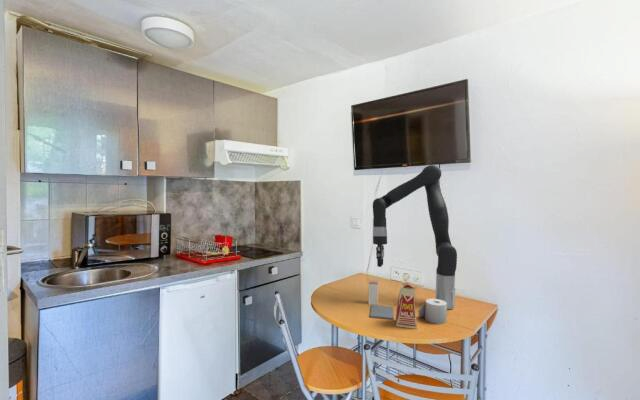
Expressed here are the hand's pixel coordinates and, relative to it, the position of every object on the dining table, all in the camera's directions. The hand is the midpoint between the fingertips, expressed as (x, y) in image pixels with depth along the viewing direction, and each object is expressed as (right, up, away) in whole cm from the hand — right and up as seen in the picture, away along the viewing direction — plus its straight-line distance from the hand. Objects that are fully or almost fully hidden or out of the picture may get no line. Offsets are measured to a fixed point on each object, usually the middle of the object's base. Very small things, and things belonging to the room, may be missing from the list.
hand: (380, 265), depth 172 cm
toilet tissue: (+21, -22, -20) cm, 36 cm away
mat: (-2, -21, -13) cm, 24 cm away
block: (-4, -20, +1) cm, 21 cm away
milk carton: (+7, -22, -25) cm, 34 cm away
